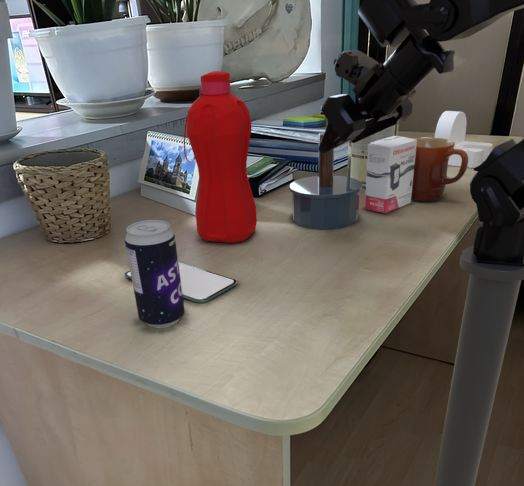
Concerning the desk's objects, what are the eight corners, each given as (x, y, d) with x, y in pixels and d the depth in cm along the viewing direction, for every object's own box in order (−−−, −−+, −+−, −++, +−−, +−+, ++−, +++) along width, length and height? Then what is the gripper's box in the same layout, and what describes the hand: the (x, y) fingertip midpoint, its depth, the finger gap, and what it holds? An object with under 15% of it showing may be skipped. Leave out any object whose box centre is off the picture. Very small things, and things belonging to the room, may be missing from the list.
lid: (375, 195, 92) (379, 135, 87) (308, 206, 89) (308, 144, 84) (340, 178, 102) (342, 123, 97) (278, 188, 99) (277, 131, 94)
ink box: (385, 214, 98) (390, 146, 92) (363, 209, 101) (367, 143, 95) (411, 203, 103) (418, 137, 97) (389, 198, 106) (394, 134, 100)
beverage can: (165, 335, 64) (149, 238, 58) (130, 324, 67) (111, 231, 61) (194, 315, 69) (183, 222, 62) (160, 305, 71) (146, 216, 65)
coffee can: (338, 178, 120) (340, 110, 113) (378, 172, 123) (383, 105, 116) (361, 190, 112) (364, 116, 105) (404, 183, 115) (410, 111, 108)
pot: (362, 210, 101) (364, 180, 98) (350, 231, 92) (352, 199, 89) (302, 206, 104) (302, 178, 102) (285, 226, 95) (284, 195, 92)
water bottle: (204, 224, 98) (188, 69, 85) (262, 228, 95) (254, 67, 82) (182, 242, 91) (161, 75, 78) (244, 247, 88) (233, 74, 74)
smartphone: (240, 284, 76) (161, 259, 84) (240, 280, 76) (160, 256, 84) (202, 305, 71) (121, 277, 79) (201, 302, 70) (120, 274, 79)
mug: (392, 199, 106) (396, 144, 100) (415, 188, 111) (420, 135, 106) (449, 210, 99) (457, 151, 93) (471, 198, 104) (480, 142, 99)
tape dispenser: (420, 151, 139) (425, 106, 133) (491, 159, 129) (500, 110, 123) (403, 159, 133) (407, 112, 127) (476, 168, 123) (484, 117, 117)
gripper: (401, 25, 84) (340, 99, 96) (333, 31, 73) (272, 115, 85) (443, 82, 84) (376, 150, 96) (381, 98, 72) (313, 173, 84)
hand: (336, 146), depth 90 cm, fingers open, 9 cm apart
